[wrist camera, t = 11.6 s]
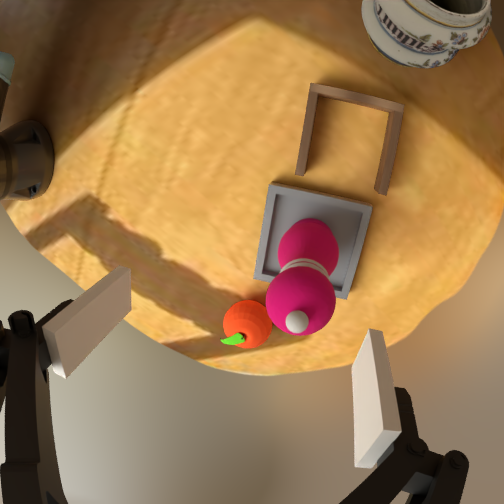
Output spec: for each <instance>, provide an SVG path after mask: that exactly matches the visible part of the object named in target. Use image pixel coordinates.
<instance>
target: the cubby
mask: <svg viewBox="0 0 504 504" xmlns="http://www.w3.org/2000/svg"><path fill="white" fill-rule="evenodd" d="M318 96H320V97H325V98H330V99H335V100H340V101H345V102H349V103H353V104H358V105H362V106H366V107H370V108H374V109H378V110H382V111H385V112H389V116H388V122H387V128H386V133H385V139H384V144H383V149H382V154H381V159H380V164H379V169H378V173H377V178H376V182H375V187H374V189H375V190H376V191H377V192H378V194H382V195H387V191H388V187H389V182H390V178H391V174H392V169H393V164H394V159H395V155H396V150H397V145H398V139H399V134H400V128H401V123H402V117H403V111H404V105H403V104H400V103H396V102H393V101H389V100H385V99H382V98H378V97H374V96H370V95H366V94H362V93H358V92H353V91H349V90H344V89H340V88H335V87H330V86H325V85H320V84H314V83H310V89H309V95H308V101H307V107H306V114H305V120H304V125H303V131H302V137H301V143H300V149H299V155H298V160H297V166H296V172H295V175H299V176H304V174H305V171H306V166H307V160H308V155H309V149H310V143H311V138H312V132H313V126H314V120H315V114H316V108H317V102H318Z"/></svg>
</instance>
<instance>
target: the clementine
mask: <svg viewBox="0 0 504 504" xmlns="http://www.w3.org/2000/svg"><path fill="white" fill-rule="evenodd" d="M223 326H224V331H225V334H226V336H227V339H224V340H221V338H220V340H221V341H222V342H223V343H225V344H230V345H234V344H235V345H236V346H239V347H242V348H255V347H257V346H259V345H261V344H263V343H264V342H265V341H266V340H267V339H268V337H269V335H270V333H271V331H272V320H271V319H270V317H269V315H268V312H267V309H266V307H265V306H263V305H262V304H261V303H259V302H256V301H252V300H244V301H240V302H237V303H235V304H234V305H232V306H231V307H230V309H229V310H228V311H227V312H226V315H225V317H224V323H223Z"/></svg>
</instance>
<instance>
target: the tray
mask: <svg viewBox="0 0 504 504" xmlns="http://www.w3.org/2000/svg"><path fill="white" fill-rule="evenodd" d="M372 208H373V207H372V205H371V204H370V203H366V202H362V201H358V200H354V199H349V198H345V197H341V196H336V195H332V194H328V193H323V192H318V191H314V190H309V189H304V188H300V187H295V186H290V185H285V184H280V183H274V182H271V183H270V184H269V187H268V194H267V200H266V206H265V212H264V218H263V224H262V230H261V236H260V242H259V248H258V254H257V260H256V266H255V272H254V278H253V279H257V280H261V281H265V282H270V283H271V282H272V280H273V279H274V278H275V277H276V276H277V275H278V274H279V273H280V271H281V267H280V264H279V261H278V247H279V243H280V240H281V238H282V237H283V235H284V234H285V233H286V232H287V231H288V230H289V229H290V228H291V227H292V225H294V224H295V223H296V222H298V221H299V220H302V219H306V218H313V219H318V220H320V221H322V222H324V223H325V224H326V225H327V226H328V227H329V228H330V229H331V231H332V233H333V236H334V237H335V239H336V241H337V243H338V247H339V258H338V263H337V266H336V268H335V270H334V271H333V273H332V274H331V275H330V276H329V278H330V282H331V283H332V285H333V288H334V291H335V296H336V297H337V298H342V299H346V300H347V297H348V294H349V291H350V287H351V284H352V281H353V278H354V274H355V271H356V268H357V264H358V261H359V257H360V254H361V250H362V246H363V243H364V239H365V235H366V232H367V228H368V224H369V220H370V216H371V212H372Z"/></svg>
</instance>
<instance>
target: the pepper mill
mask: <svg viewBox="0 0 504 504" xmlns="http://www.w3.org/2000/svg"><path fill="white" fill-rule="evenodd" d="M338 258H339V247H338V243H337V241H336V239H335V237H334V236H333V233H332V231H331V229H330V228H329V227H328V226H327V225H326V224H325V223H324V222H322V221H320V220H318V219H313V218H306V219H302V220H299V221H298V222H296V223H295V224H294V225H292V227H291V228H290V229H289V230H288V231H287V232H286V233H285V234H284V235H283V237H282V238H281V240H280V243H279V247H278V261H279V264H280V267H281V271H280V273H279V274H278V275H277V276H276V277H275V278H274V279H273V280H272V282H271V283H270V285H269V288H268V290H267V294H266V309H267V312H268V315H269V317H270V319H271V320H272V322H273V323H274V324H275V325H276V326H277V327H278V328H280V329H281V330H282V331H284V332H286V333H289V334H292V335H299V336H301V335H309V334H312V333H315V332H317V331H319V330H320V329H322V328H323V327H324V326H325V325H326V324H327V323H328V322H329V320H330V319H331V317H332V315H333V313H334V310H335V304H336V296H335V291H334V288H333V285H332V283H331V282H330V278H329V276H330V275H331V274H332V273H333V271H334V270H335V268H336V266H337V263H338Z"/></svg>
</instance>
